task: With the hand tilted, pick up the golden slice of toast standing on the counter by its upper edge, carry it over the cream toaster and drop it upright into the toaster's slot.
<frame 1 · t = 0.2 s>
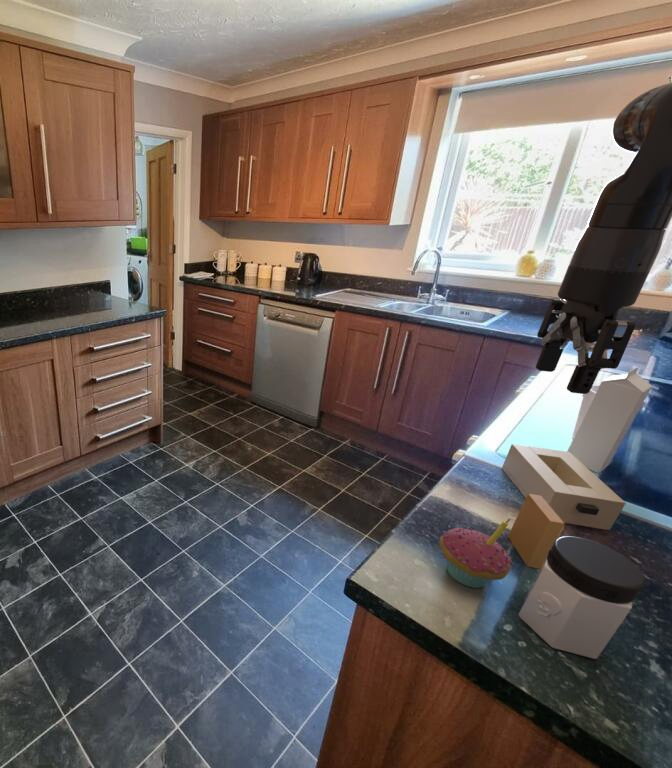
hand: (559, 380, 61), 28 cm above the countertop, tool pointing down, fingers open, 8 cm apart
toaster: (550, 496, 81), on the countertop
cupcake: (463, 576, 63), on the countertop
milk: (585, 463, 92), on the countertop
toast: (523, 552, 68), on the countertop
jar: (557, 627, 56), on the countertop
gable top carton: (589, 443, 99), on the countertop
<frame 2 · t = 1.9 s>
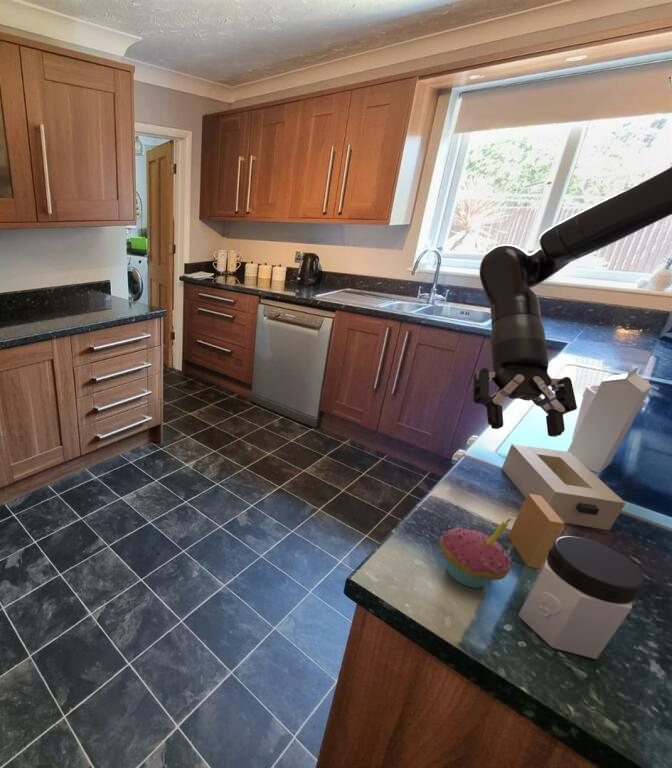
hand: (526, 431, 71), 16 cm above the countertop, tool tilted 45°, fingers open, 8 cm apart
nothing on the countertop moved.
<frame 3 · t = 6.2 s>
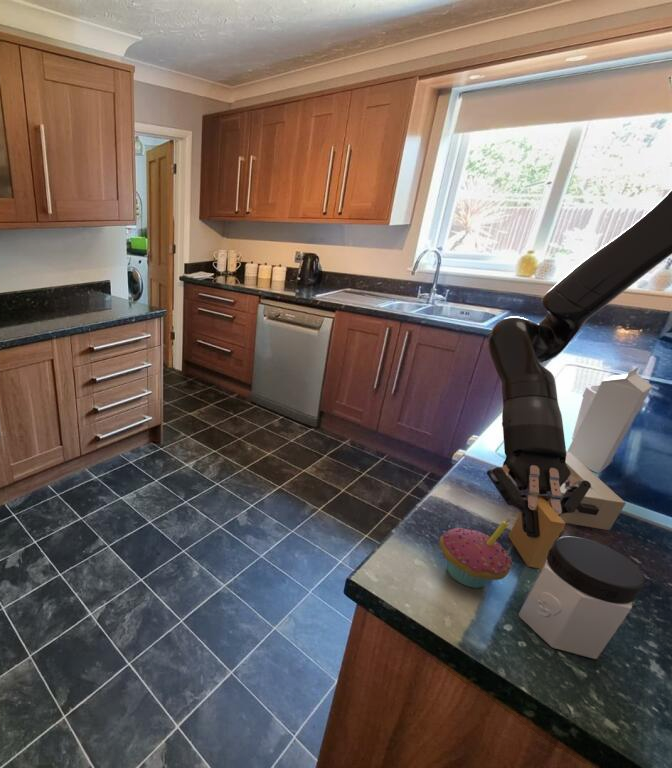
hand: (542, 538, 64), 5 cm above the countertop, tool tilted 45°, fingers closed on toast, 1 cm apart
toast: (523, 551, 68), on the countertop, touching gripper
everything else where it was.
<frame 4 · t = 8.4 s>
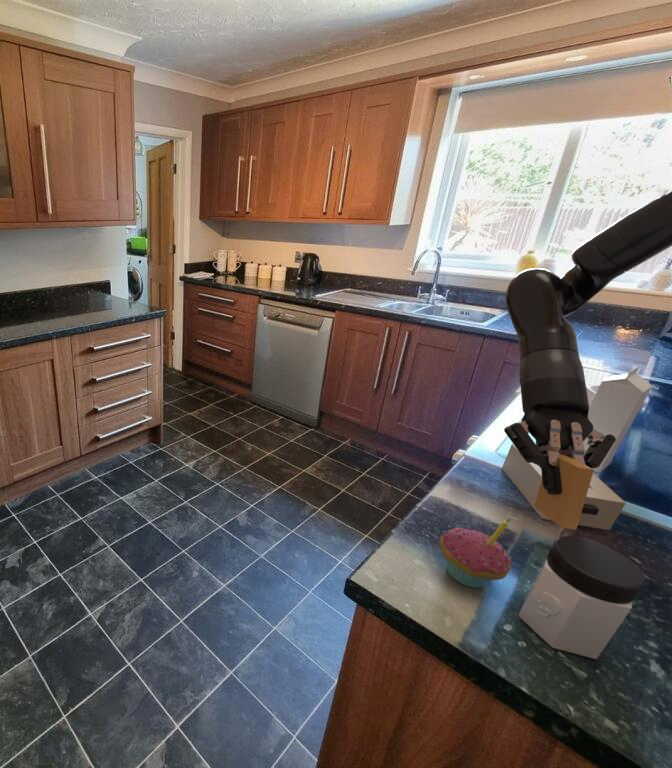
hand: (564, 494, 61), 13 cm above the countertop, tool tilted 45°, fingers closed on toast
toast: (554, 517, 62), point 9 cm above the countertop, tilted 13°, touching gripper
everything else where it was.
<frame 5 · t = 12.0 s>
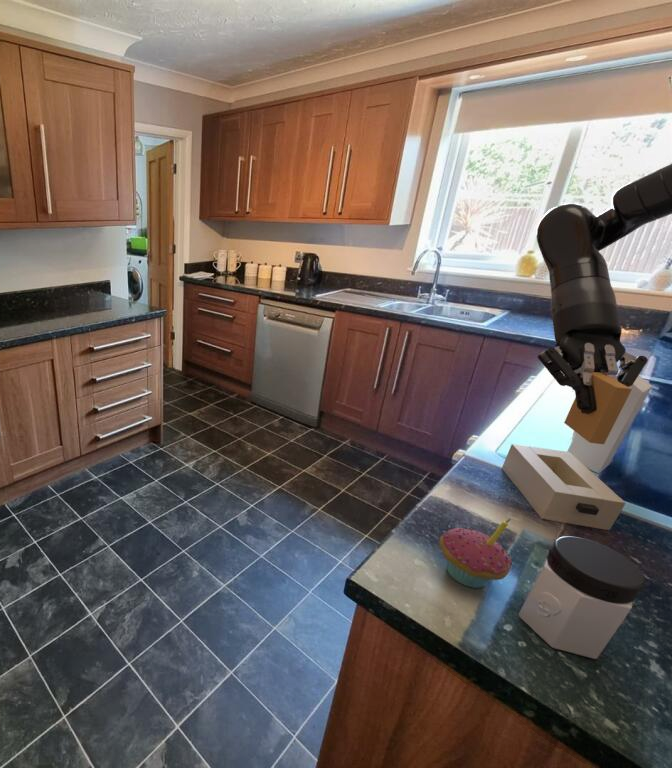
hand: (599, 413, 63), 23 cm above the countertop, tool tilted 45°, fingers closed on toast
toast: (583, 433, 65), point 19 cm above the countertop, touching gripper
everything else where it was.
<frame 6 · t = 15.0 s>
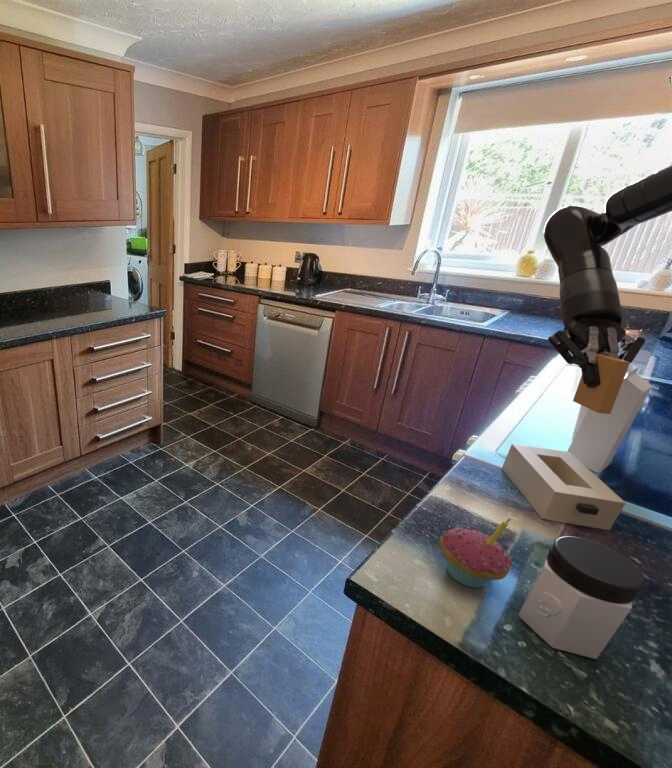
hand: (602, 387, 72), 23 cm above the countertop, tool tilted 45°, fingers closed on toast
toast: (590, 407, 74), point 19 cm above the countertop, tilted 8°, touching gripper
everything else where it was.
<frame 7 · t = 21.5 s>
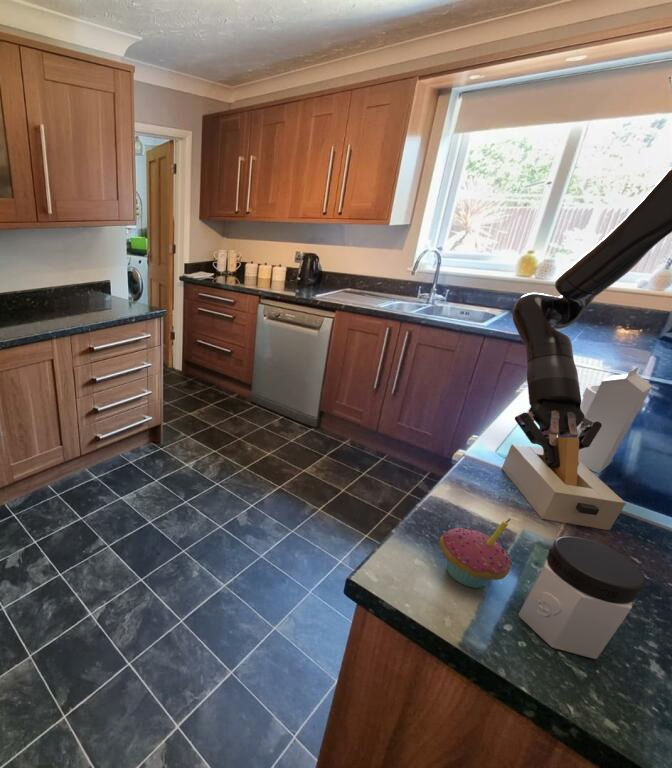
hand: (562, 468, 79), 6 cm above the countertop, tool tilted 45°, fingers closed, pressing on toast, toaster
toast: (558, 485, 79), point 3 cm above the countertop, tilted 31°, touching gripper
everything else where it was.
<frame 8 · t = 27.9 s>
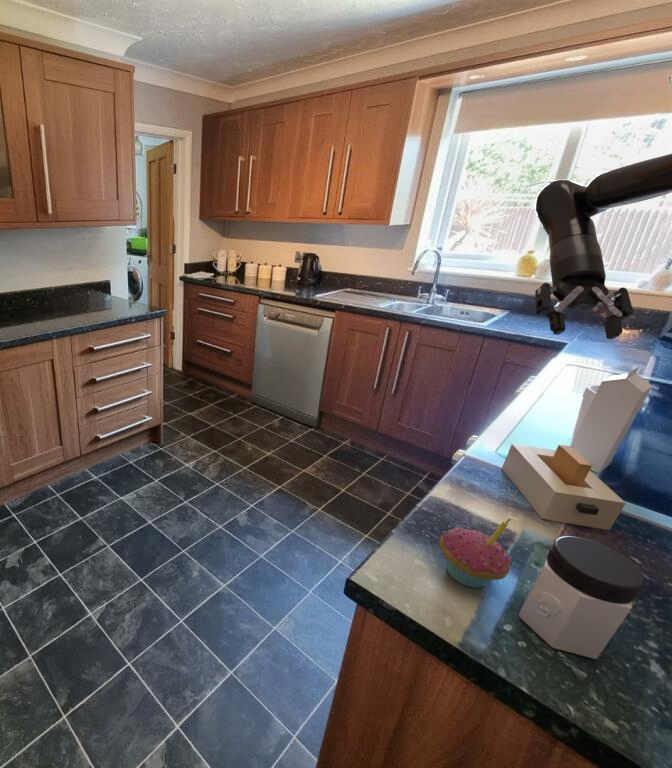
hand: (586, 335, 80), 29 cm above the countertop, tool tilted 45°, fingers open, 8 cm apart
toast: (554, 494, 80), point 1 cm above the countertop, touching toaster
everything else where it was.
at the end: toast inside the target area on the toaster (0.8 cm from its centre), point 1.0 cm above the toaster's base; toast tilted 0°; the gripper is holding nothing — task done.
